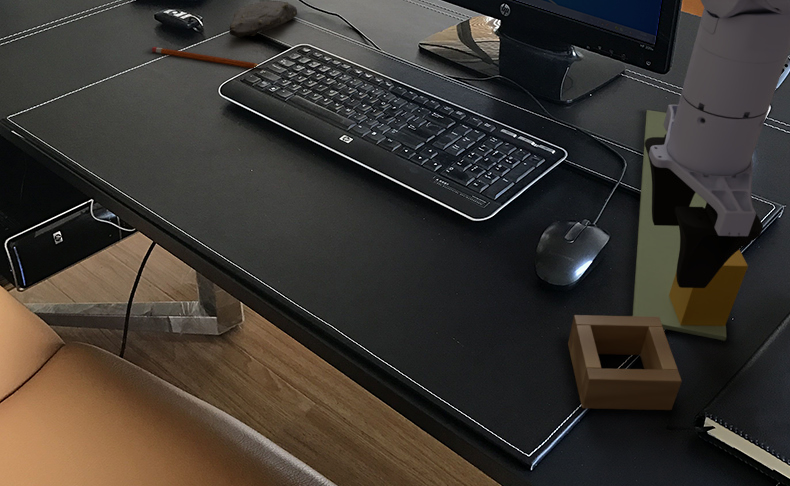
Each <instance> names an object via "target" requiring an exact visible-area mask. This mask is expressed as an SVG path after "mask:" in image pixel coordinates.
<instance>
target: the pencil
mask: <svg viewBox="0 0 790 486" xmlns="http://www.w3.org/2000/svg"><path fill="white" fill-rule="evenodd" d="M151 51H152V53H156V54H162V55H167V56H174V57H181V58H186V59H193V60H197V61H204V62H210V63H215V64H216V63H217V64H221V65H222V64H223V65H228V66H229V65H230V66H234V67H241V68H245V69H246V68H247V69H252V68H254V67H256V66H257V65H259V64H258V63H256V62H249V61H244V60H238V59H232V58H226V57H219V56H213V55H206V54H201V53H195V52H188V51H181V50H175V49H169V48H164V47H157V46H153V47H152V48H151Z"/></svg>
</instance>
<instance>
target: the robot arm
mask: <svg viewBox="0 0 790 486" xmlns="http://www.w3.org/2000/svg"><path fill="white" fill-rule="evenodd" d="M700 2H701V4H702V6H703V10H702V14H701V18H700V21H699V25H698V29H697V33H696V36H695V40H694V44H693V48H692V51H691V55H690V59H689V63H688V67H687V71H686V74H685V78H684V82H683V86H682V89H681V93H680V97H679V101H678V104H668V106H667V110H666V112H665V113H666V117H665V121H664V125H663V126H664V128H665V130H666V131H667V134H665V136H664V137H651V138H648V139H647V140H646V141H645V140H644V141H645V147H646V150H647V153H648V157H649V162H650V167H651V176H652V220H653V223H654V225H657V226H679V230H680V251H679V257H678V263H677V271H676V277H677V283H678V285H679V287H681V288H705V287H706V286H707V285H708V284H709V283H710V281H711V280H712V279H713V277H714V276H715V275H716V274H717V272H718V271H719V270H720V268H721V267H722V266H723V265H724V264H725V262H726V261H727V260H728V259H729V258H730V257H731V256H732V255H733V254H734V253H735V252H737V251H738V250H741V249H742V248H744V247H745V246H746V245H748V244H750V243H751V242H753V241H755V240H756V239H758V238H760V236H761V234H762V232H763V229H764V225H763V224H764V223H762V220H761V219H760V217H759V216H758V213H757V212H756V210H755V208H754V205H753V201H752V191H753V170H754V169H753V168H754V161H753V156H754V153H755V151H756V147H757V145H758V142H759V138H760V135H761V133H762V130H763V127H764V125H765V121H766V119H767V115H768V113H769V110H770V107H771V104H772V101H773V99H774V95H775V93H776V89H777V87H778V83H779V81H780V78H781V75H782V72H783V70H784V66H785V63H786V61H787V58H788V55H789V52H790V0H700ZM695 192H696V193H697V194H698V195H699V196H701V197H702V198H703V199H704V200H705V201H706V202H707V203H706V206H705V208H704V207H689V206H690V204H691V201H692V199H693V197H694V194H695Z"/></svg>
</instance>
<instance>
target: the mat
mask: <svg viewBox="0 0 790 486" xmlns="http://www.w3.org/2000/svg"><path fill="white" fill-rule="evenodd" d="M666 113H667V112H663V111H657V110H650V109H647V110H646V116H645V127H644V142H643V143H644V144H643V157H642V158H643V159H642V171H641V172H642V173H641V185H640V186H641V187H640V201H639V215H638V217H639V218H638V231H637V244H636V246H637V247H636V259H635V260H636V261H635V274H634V275H635V276H634V289H633V302H632V303H633V305H632V316H645V317H659V318H660V321H661V324H662V327H663V330H667V331H673V332H678V333H683V334H690V335H694V336H698V337H699V336H700V337H703V338H709V339H714V340H719V341H723V342H725V341H726V340H727V325H725V326H698V325H680V323H679V320H678V317H677V315H676V312H675V309H674V307H673V304H672V302H671V299H670V296H669V294H670V290H671V287H672V284H673V281H674V278H675V274H676V271H677V263H678V257H679V251H680V230H679V226H657V225H654V223H653V220H652V176H651V167H650V162H649V157H648V153H647V150H646V147H645V141H646V140H647V139H648V138H651V137H664V136H665V134H667V131H666V130H665V128H664V126H663V125H664V121H665V117H666ZM706 203H707V202H706V201H705V200H704V199H703V198H702V197H701V196H699V195H698V194H697V193H696V192H695V194H694V197H693V199H692V201H691V204H690V206H689V207H704V208H705V206H706Z"/></svg>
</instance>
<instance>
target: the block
mask: <svg viewBox="0 0 790 486" xmlns="http://www.w3.org/2000/svg"><path fill="white" fill-rule="evenodd" d="M748 267H749V265H748V263H747V261H746V260H745V257H744V256H743V253H742V252H741V249H739V250H738V251H737V252H735V253H734V254H733V255H732V256H731V257H730V258H729V259H728V260H727V261H726V262H725V264H724V265H723V266H722V267H721V268H720V270H719V271H718V272H717V274H716V275H715V276H714V277H713V279H712V280H711V281H710V283H709V284H708V285H707V286H706V287H705V288H681V287H679V285H678V283H677V277H676V274H675V278H674V281H673V284H672V287H671V290H670V294H669V296H670V299H671V302H672V304H673V307H674V309H675V312H676V315H677V317H678V320H679V323H680V325H698V326H725V325H726V324H727V323H728V320H729V317H730V315H731V312H732V309H733V307H734V304H735V301H736V299H737V296H738V293H739V291H740V288H741V286H742V283H743V280H744V277H745V275H746V273H747V270H748ZM726 326H727V325H726Z"/></svg>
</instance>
